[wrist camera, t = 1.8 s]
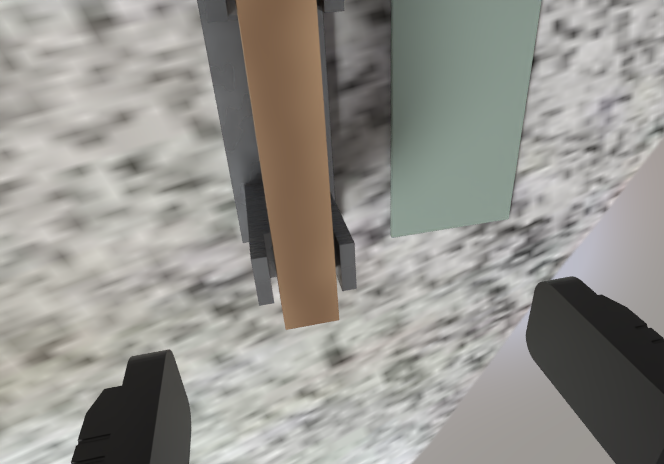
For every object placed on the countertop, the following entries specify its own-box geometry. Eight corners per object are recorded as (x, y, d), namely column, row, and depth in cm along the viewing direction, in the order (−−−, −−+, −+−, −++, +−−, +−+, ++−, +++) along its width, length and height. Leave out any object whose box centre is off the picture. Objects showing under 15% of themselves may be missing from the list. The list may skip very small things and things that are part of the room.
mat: (560, -154, 26) (564, -155, 26) (506, 216, 38) (508, 218, 38) (391, -147, 25) (393, -149, 24) (390, 235, 37) (392, 237, 37)
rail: (295, -118, 18) (307, -132, 16) (328, 288, 28) (339, 320, 26) (218, -115, 18) (217, -128, 15) (280, 296, 28) (285, 329, 25)
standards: (312, -97, 25) (359, -132, 16) (334, 222, 35) (370, 306, 27) (181, -90, 24) (156, -122, 15) (242, 236, 34) (248, 329, 26)
